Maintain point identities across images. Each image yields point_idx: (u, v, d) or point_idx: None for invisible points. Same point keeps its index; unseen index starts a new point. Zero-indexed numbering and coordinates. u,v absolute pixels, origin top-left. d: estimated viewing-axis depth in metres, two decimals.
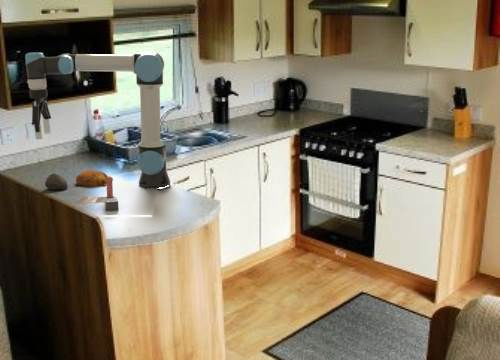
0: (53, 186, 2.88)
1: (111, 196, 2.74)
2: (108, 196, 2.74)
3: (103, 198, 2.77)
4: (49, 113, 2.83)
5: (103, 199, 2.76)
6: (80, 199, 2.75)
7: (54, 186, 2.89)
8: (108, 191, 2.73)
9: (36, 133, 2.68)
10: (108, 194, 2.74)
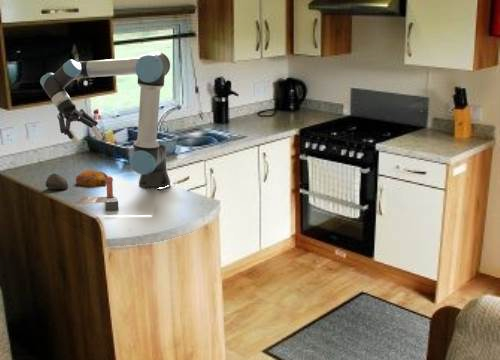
0: (54, 186, 2.88)
1: (111, 196, 2.74)
2: (108, 196, 2.74)
3: (103, 198, 2.77)
4: (95, 121, 2.82)
5: (103, 199, 2.76)
6: (80, 199, 2.75)
7: (55, 186, 2.89)
8: (108, 191, 2.73)
9: (72, 140, 2.69)
10: (108, 194, 2.74)
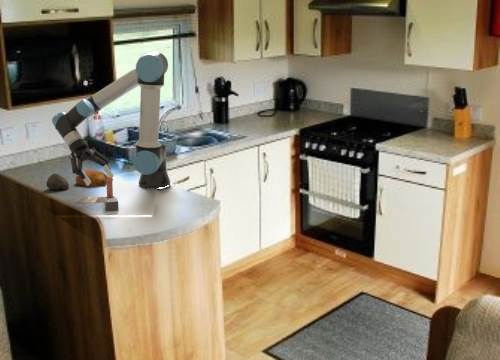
0: (54, 186, 2.89)
1: (111, 196, 2.74)
2: (108, 196, 2.74)
3: (103, 198, 2.77)
4: (106, 159, 2.83)
5: (103, 199, 2.76)
6: (80, 199, 2.75)
7: (55, 186, 2.89)
8: (108, 191, 2.73)
9: (84, 180, 2.70)
10: (108, 194, 2.74)
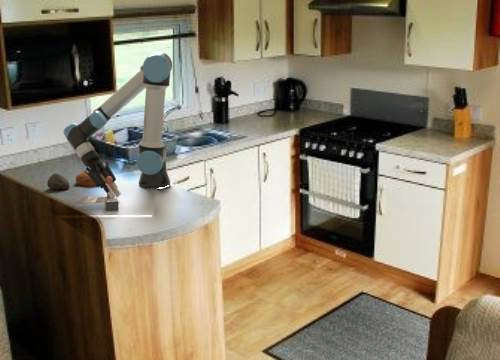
0: (55, 186, 2.89)
1: None
2: (108, 196, 2.74)
3: (103, 198, 2.77)
4: (114, 177, 2.78)
5: (103, 199, 2.76)
6: (80, 199, 2.75)
7: (56, 186, 2.89)
8: None
9: (108, 193, 2.72)
10: None
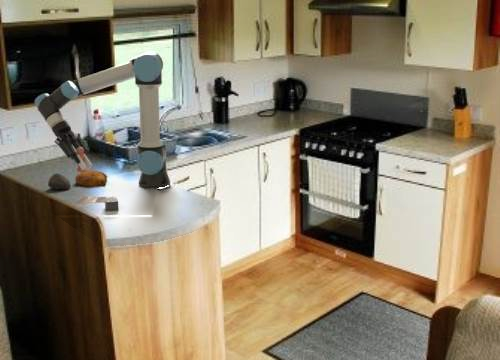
0: (56, 186, 2.89)
1: None
2: (79, 167, 2.69)
3: (103, 198, 2.77)
4: (85, 148, 2.73)
5: (103, 199, 2.76)
6: (80, 199, 2.75)
7: (57, 186, 2.89)
8: None
9: (79, 164, 2.68)
10: None
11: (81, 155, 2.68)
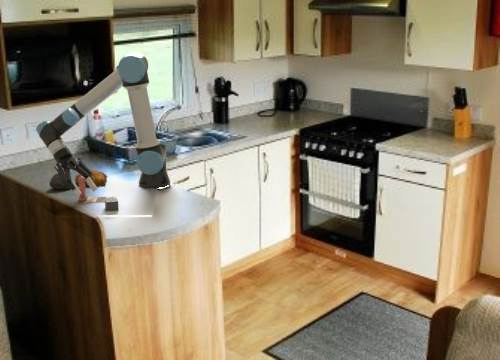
0: (58, 186, 2.89)
1: (84, 196, 2.73)
2: (81, 196, 2.73)
3: (103, 198, 2.77)
4: (90, 171, 2.79)
5: (103, 199, 2.76)
6: None
7: (59, 186, 2.89)
8: None
9: (74, 191, 2.69)
10: None
11: (82, 184, 2.72)
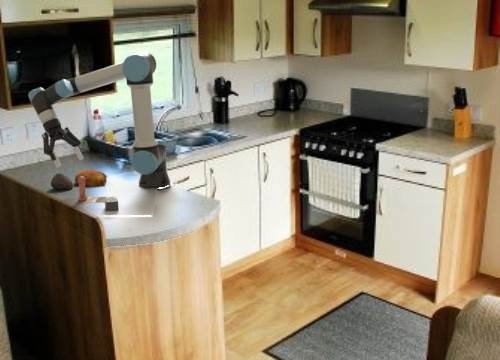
0: (59, 186, 2.89)
1: (84, 196, 2.73)
2: (81, 196, 2.73)
3: (103, 198, 2.77)
4: (78, 140, 2.86)
5: (103, 199, 2.76)
6: None
7: (60, 186, 2.89)
8: (80, 191, 2.72)
9: (54, 162, 2.74)
10: (81, 194, 2.73)
11: (82, 184, 2.72)
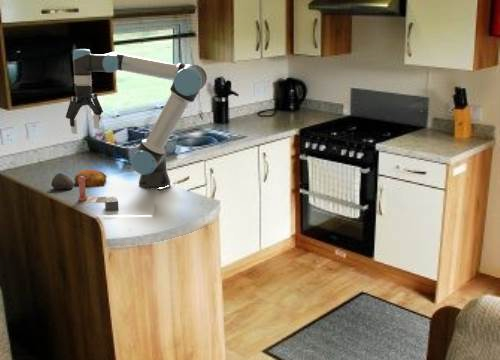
0: (60, 186, 2.89)
1: (84, 196, 2.73)
2: (81, 196, 2.73)
3: (103, 198, 2.77)
4: (101, 109, 2.87)
5: (103, 199, 2.76)
6: None
7: (61, 186, 2.89)
8: (80, 191, 2.72)
9: (72, 127, 2.76)
10: (81, 194, 2.73)
11: (82, 184, 2.72)
